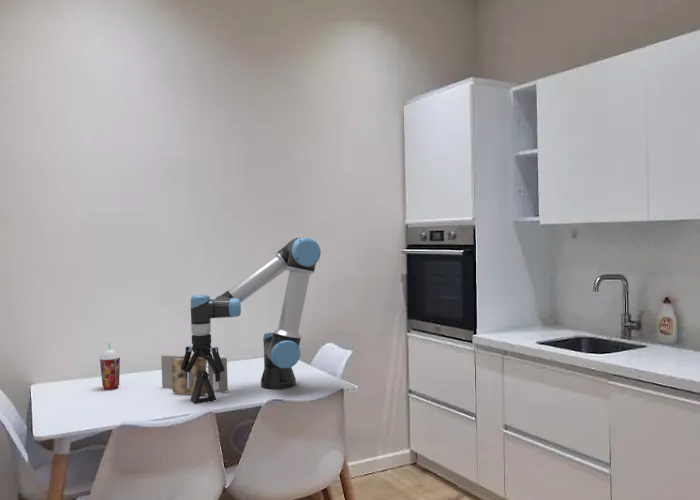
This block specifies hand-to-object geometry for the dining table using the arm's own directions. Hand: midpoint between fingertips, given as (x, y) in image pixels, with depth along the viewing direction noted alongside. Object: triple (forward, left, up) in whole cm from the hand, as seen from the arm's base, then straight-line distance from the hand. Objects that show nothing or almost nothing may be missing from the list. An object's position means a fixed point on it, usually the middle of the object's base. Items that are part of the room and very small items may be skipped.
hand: (203, 388), depth 248 cm
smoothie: (+53, -7, -5) cm, 54 cm away
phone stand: (0, 0, -5) cm, 5 cm away
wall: (+15, -15, -5) cm, 22 cm away
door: (+12, -7, -4) cm, 14 cm away
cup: (+29, -51, -5) cm, 59 cm away
